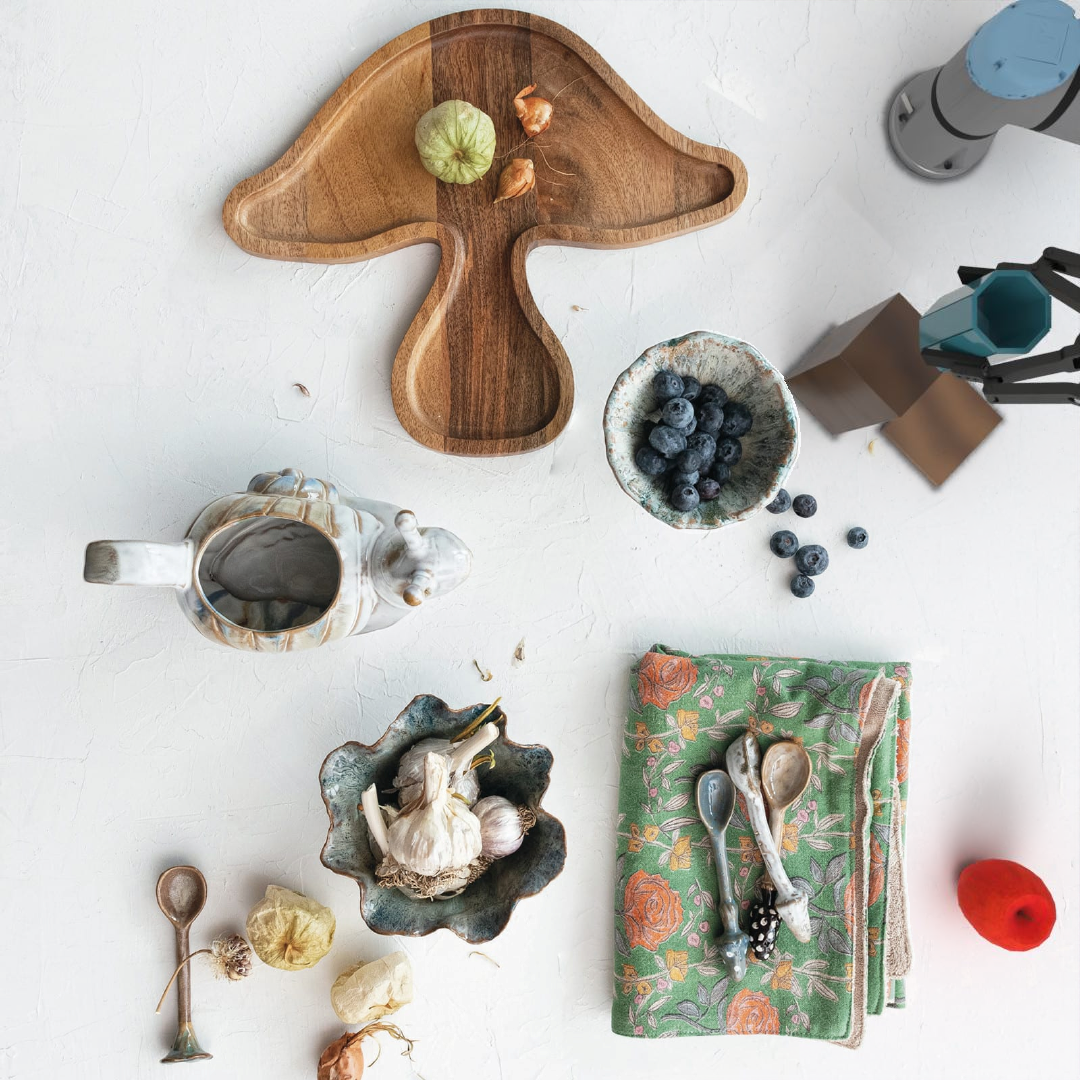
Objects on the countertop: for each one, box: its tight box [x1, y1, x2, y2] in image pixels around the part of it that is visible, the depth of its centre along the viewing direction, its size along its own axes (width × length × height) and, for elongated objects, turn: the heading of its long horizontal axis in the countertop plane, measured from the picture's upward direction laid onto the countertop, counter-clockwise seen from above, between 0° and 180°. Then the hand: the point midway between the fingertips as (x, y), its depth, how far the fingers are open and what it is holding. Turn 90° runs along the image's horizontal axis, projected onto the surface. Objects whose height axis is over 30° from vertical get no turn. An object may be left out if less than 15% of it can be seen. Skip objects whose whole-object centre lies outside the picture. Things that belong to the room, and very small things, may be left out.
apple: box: [956, 858, 1057, 953], centre depth 121 cm, size 12×12×13 cm
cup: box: [919, 270, 1053, 372], centre depth 88 cm, size 8×8×10 cm
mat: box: [879, 372, 1004, 488], centre depth 125 cm, size 14×12×1 cm
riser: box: [783, 292, 944, 436], centre depth 115 cm, size 11×11×20 cm
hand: (943, 315), depth 90 cm, fingers closed on cup, 9 cm apart
